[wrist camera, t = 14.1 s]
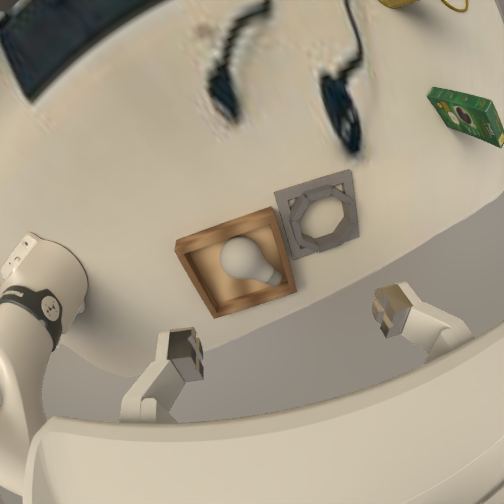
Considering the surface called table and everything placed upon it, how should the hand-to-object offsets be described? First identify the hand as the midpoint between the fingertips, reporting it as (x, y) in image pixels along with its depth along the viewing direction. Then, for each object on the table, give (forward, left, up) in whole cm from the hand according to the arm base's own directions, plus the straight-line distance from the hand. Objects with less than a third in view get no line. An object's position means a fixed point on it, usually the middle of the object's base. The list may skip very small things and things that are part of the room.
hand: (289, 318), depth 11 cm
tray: (-5, -16, -29) cm, 33 cm away
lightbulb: (0, -20, -25) cm, 32 cm away
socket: (+10, -13, -29) cm, 33 cm away
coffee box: (+37, 0, -29) cm, 47 cm away
